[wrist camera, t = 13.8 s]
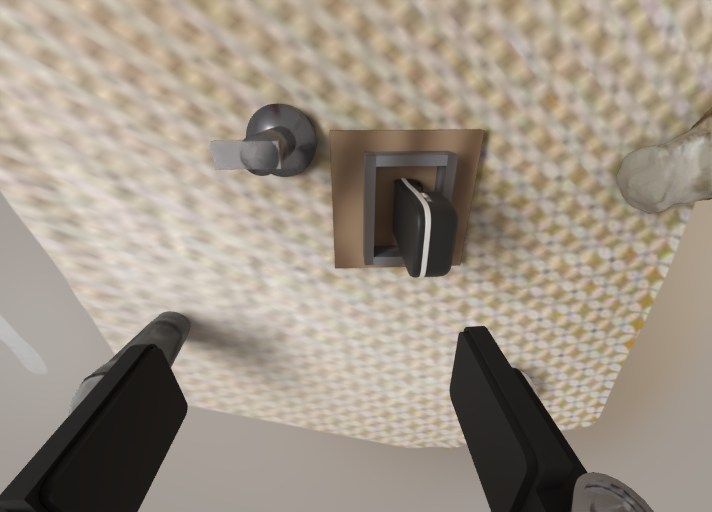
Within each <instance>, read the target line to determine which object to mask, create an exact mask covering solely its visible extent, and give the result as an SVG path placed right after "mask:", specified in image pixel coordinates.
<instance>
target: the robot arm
mask: <svg viewBox="0 0 712 512" xmlns="http://www.w3.org/2000/svg"><path fill="white" fill-rule="evenodd" d="M450 397H451V401H452V404H453V406H454V409H455V412H456V415H457V417H458V420H459V423H460V426H461V429H462V431H463V434H464V437H465V440H466V442H467V445H468V448H469V451H470V454H471V456H472V459H473V462H474V465H475V468H476V470H477V473H478V475H479V479H480V481H481V484H482V487H483V490H484V492H485V495H486V498H487V501H488V504H489V507H490V509H491V512H654V511H653V510H652V509H651V508H650V507H649V505H648V504H647V503H646V502H645V500H644V499H643V498H641V497H640V496H639V495H638V494H637V493H636V492H635V491H634V490H632V489H631V488H630V487H628V486H627V485H625V484H624V483H622V482H620V481H619V480H617V479H615V478H613V477H610V476H608V475H606V474H601V473H594V472H592V473H587V471H586V470H585V468H584V467H583V465H582V464H581V462H580V461H579V459H578V457H577V456H576V454H575V453H574V451H573V450H572V448H571V447H570V445H569V444H568V442H567V441H566V439H565V438H564V436H563V435H562V433H561V432H560V430H559V428H558V427H557V425H556V424H555V422H554V421H553V419H552V418H551V416H550V415H549V413H548V412H547V410H546V409H545V407H544V406H543V404H542V403H541V401H540V399H539V398H538V396H537V395H536V393H535V392H534V390H533V389H532V387H531V386H530V384H529V383H528V381H527V380H526V378H525V377H524V375H523V374H522V373H521V371H519V370H518V369H516V368H512V367H511V366H510V364H509V362H508V361H507V359H506V358H505V356H504V355H503V353H502V351H501V350H500V348H499V347H498V345H497V343H496V342H495V340H494V339H493V337H492V335H491V334H490V332H489V331H488V329H487V328H486V327H485V326H476V327H466V328H465V329H464V332H460V333H459V336H458V342H457V348H456V354H455V360H454V366H453V372H452V378H451V384H450ZM187 408H188V406H187V402H186V400H185V398H184V395H183V393H182V391H181V389H180V387H179V385H178V383H177V380H176V378H175V376H174V374H173V372H172V370H171V368H170V365H169V363H168V361H167V359H166V357H165V355H164V353H163V351H162V349H160V348H158V347H157V345H155V344H139V345H132V346H130V347H129V348H128V349H127V350H126V351H125V352H124V353H123V355H122V356H121V357H120V358H119V359H118V360H117V362H116V363H115V364H114V365H113V366H112V367H111V368H110V370H109V371H108V372H107V373H106V374H105V375H104V376H103V378H102V379H101V380H100V381H99V382H98V383H97V384H96V386H95V387H94V388H93V389H92V390H91V391H90V392H89V394H88V395H87V396H86V397H85V398H84V399H83V401H82V402H81V403H80V404H79V405H78V406H77V407H76V409H75V410H74V411H73V412H72V413H71V414H70V415H69V417H68V418H67V419H66V420H65V421H64V422H63V424H62V425H61V426H60V427H59V428H58V429H57V430H56V431H55V433H54V434H53V435H52V436H51V437H50V438H49V440H48V441H47V442H46V443H45V444H44V445H43V446H42V448H41V449H40V450H39V451H38V452H37V453H36V454H35V456H34V457H33V458H32V459H31V460H30V461H29V462H28V464H27V465H26V466H25V467H24V468H23V469H22V471H21V472H20V473H19V474H18V475H17V476H16V477H15V479H14V480H13V481H12V482H11V483H10V484H9V485H8V487H7V488H6V489H5V490H4V491H3V492H2V494H1V495H0V512H137V511H138V509H139V508H140V506H141V504H142V502H143V500H144V498H145V496H146V494H147V492H148V490H149V488H150V486H151V484H152V482H153V480H154V478H155V476H156V474H157V472H158V470H159V468H160V466H161V464H162V462H163V460H164V458H165V456H166V454H167V452H168V450H169V448H170V446H171V444H172V442H173V440H174V438H175V436H176V434H177V432H178V430H179V428H180V426H181V424H182V422H183V420H184V418H185V416H186V413H187Z"/></svg>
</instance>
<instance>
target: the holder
mask: <svg viewBox="0 0 712 512" xmlns="http://www.w3.org/2000/svg"><path fill="white" fill-rule="evenodd" d="M483 135H484V130H481V129H477V130H330V152H331V176H332V201H333V226H334V250H335V268H370V267H406V266H405V264H404V261H403V258H402V256H401V253H400V250H399V247H398V244H397V242H396V239H395V237H394V234H393V214H394V193H395V181H396V180H397V179H401V178H405V179H415V180H418V181H420V182H421V183H422V185H423V191H424V192H439V193H441V194H442V195H444V196H445V197H446V198H447V199H448V200H449V201H450V203H451V204H452V205H453V206H454V207H455V209H456V210H457V213H458V228H457V235H456V242H455V248H454V255H453V261H452V266H454V265H460V263H461V257H462V252H463V246H464V241H465V235H466V230H467V224H468V219H469V213H470V208H471V202H472V196H473V191H474V185H475V180H476V174H477V169H478V163H479V158H480V152H481V147H482V141H483Z"/></svg>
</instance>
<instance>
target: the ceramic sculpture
mask: <svg viewBox="0 0 712 512" xmlns="http://www.w3.org/2000/svg"><path fill="white" fill-rule="evenodd" d="M616 181H617V184H618V186H619V188H620V190H621V194H622V196H623V197H624V198H625V199H626V201H627V202H628V203H629V204H630V205H632V206H633V207H635V208H638V209H640V210H643V211H645V212H647V213H649V214H650V213H653V212H660V211H664V210H666V209H667V208H669V207H670V206H672V205H673V204H677V203H688V202H694V201H700V200H710V199H712V108H711V109H710V110H709V111H708V112H707V113H706V114H705V115H704V116H703V117H702V118H701V119H700V120H699V121H698V122H697V123H696V124H695V125H694V126H693V127H692V128H691V130H690V131H688V132H687V133H685V134H683V135H680V136H678V137H677V138H675V139H673V140H672V141H670V142H668V143H666V144H663V145H658V146H657V145H654V146H649V147H643V148H640V149H637V150H635V151H633V152H631V153H629V154H628V155H627V156H626V157H625V158H624V160H623V162H622V164H621V167H620V169H619V171H618V173H617V176H616Z"/></svg>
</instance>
